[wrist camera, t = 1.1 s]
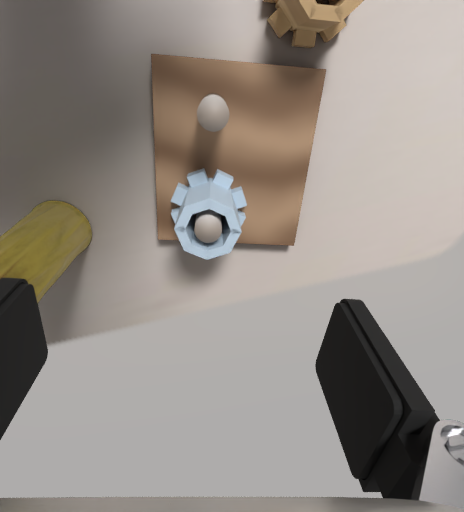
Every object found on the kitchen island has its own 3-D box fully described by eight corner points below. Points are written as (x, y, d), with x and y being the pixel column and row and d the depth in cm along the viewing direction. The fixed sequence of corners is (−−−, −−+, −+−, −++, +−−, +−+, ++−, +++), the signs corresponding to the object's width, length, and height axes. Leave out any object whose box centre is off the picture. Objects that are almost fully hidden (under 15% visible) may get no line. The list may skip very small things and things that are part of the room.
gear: (160, 183, 30) (149, 205, 25) (232, 158, 29) (236, 175, 24) (188, 246, 33) (184, 277, 28) (253, 225, 33) (261, 253, 27)
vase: (101, 219, 33) (33, 304, 21) (79, 263, 35) (6, 364, 23) (41, 188, 31) (-75, 260, 19) (22, 237, 34) (-92, 330, 21)
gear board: (154, 55, 27) (134, 46, 20) (320, 69, 28) (354, 66, 21) (160, 233, 34) (147, 269, 27) (290, 239, 35) (308, 276, 29)
